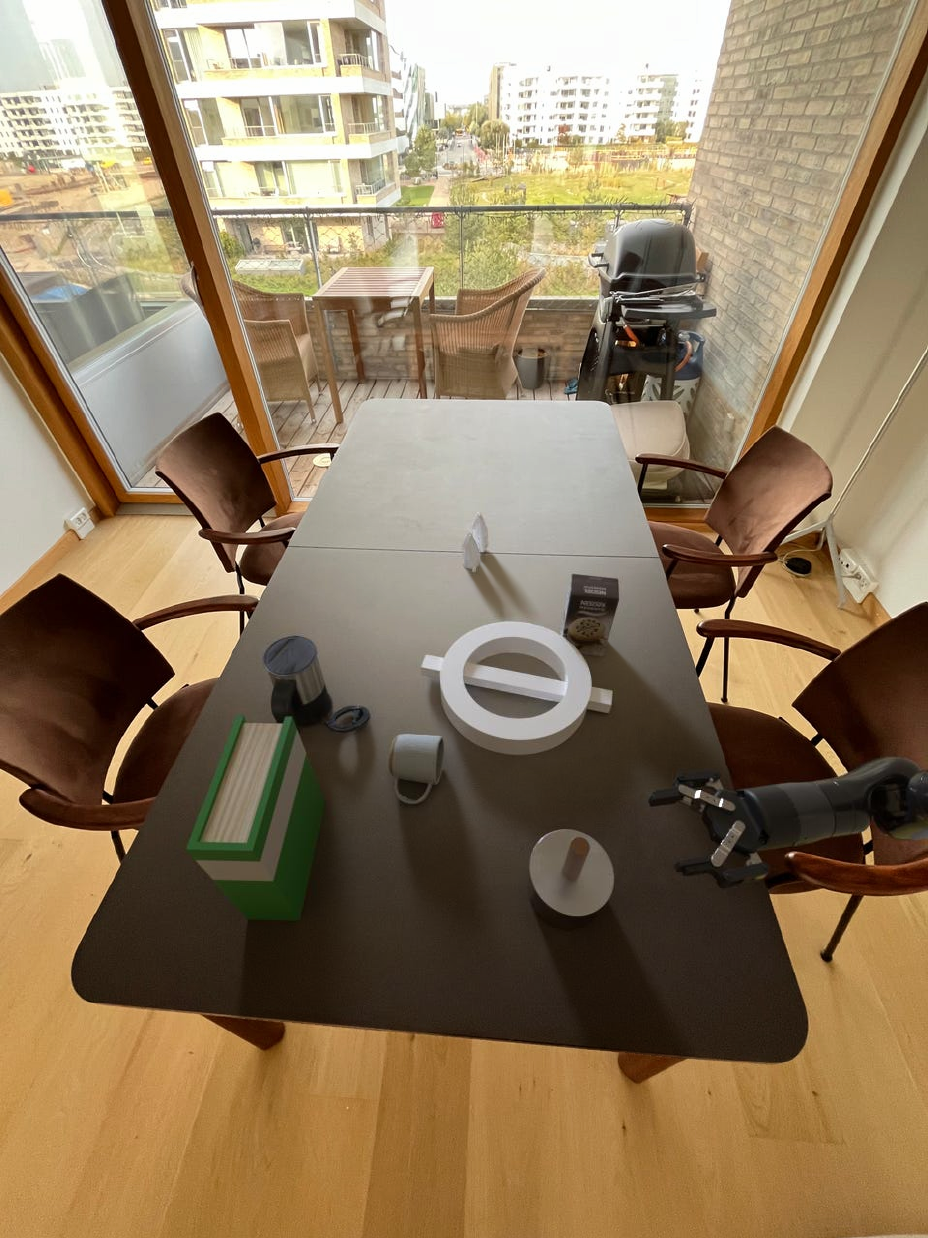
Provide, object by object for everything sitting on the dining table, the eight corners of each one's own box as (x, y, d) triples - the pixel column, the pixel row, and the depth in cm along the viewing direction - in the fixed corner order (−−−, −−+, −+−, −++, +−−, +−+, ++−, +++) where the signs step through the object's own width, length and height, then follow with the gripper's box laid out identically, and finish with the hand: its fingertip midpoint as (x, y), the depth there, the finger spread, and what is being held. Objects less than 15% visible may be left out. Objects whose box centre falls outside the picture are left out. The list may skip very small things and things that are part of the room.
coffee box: (558, 652, 113) (569, 594, 101) (560, 630, 117) (570, 572, 106) (604, 658, 111) (619, 599, 100) (603, 635, 116) (618, 577, 105)
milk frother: (281, 692, 105) (261, 640, 95) (364, 676, 108) (353, 623, 98) (283, 756, 96) (261, 705, 85) (374, 736, 98) (363, 685, 88)
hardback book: (280, 801, 90) (236, 715, 73) (325, 802, 90) (292, 716, 73) (247, 919, 77) (185, 849, 60) (299, 920, 77) (252, 851, 60)
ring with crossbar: (618, 711, 102) (623, 696, 99) (491, 782, 92) (492, 767, 89) (530, 619, 119) (532, 603, 116) (415, 670, 109) (413, 655, 106)
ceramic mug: (399, 747, 97) (394, 723, 91) (445, 752, 96) (443, 728, 91) (385, 804, 90) (380, 781, 84) (435, 810, 89) (433, 787, 83)
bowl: (615, 905, 79) (625, 887, 74) (556, 946, 75) (563, 930, 70) (570, 842, 85) (576, 822, 80) (514, 877, 81) (517, 858, 76)
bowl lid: (630, 889, 74) (646, 862, 68) (562, 937, 70) (572, 913, 63) (577, 818, 81) (586, 788, 74) (512, 858, 77) (516, 829, 70)
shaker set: (475, 540, 139) (476, 502, 131) (491, 543, 138) (492, 506, 130) (459, 569, 131) (458, 531, 124) (475, 572, 130) (476, 534, 123)
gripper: (764, 751, 73) (648, 767, 72) (829, 858, 63) (696, 879, 62) (744, 779, 79) (635, 795, 77) (801, 882, 69) (678, 902, 67)
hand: (663, 832), depth 69 cm, fingers open, 8 cm apart
